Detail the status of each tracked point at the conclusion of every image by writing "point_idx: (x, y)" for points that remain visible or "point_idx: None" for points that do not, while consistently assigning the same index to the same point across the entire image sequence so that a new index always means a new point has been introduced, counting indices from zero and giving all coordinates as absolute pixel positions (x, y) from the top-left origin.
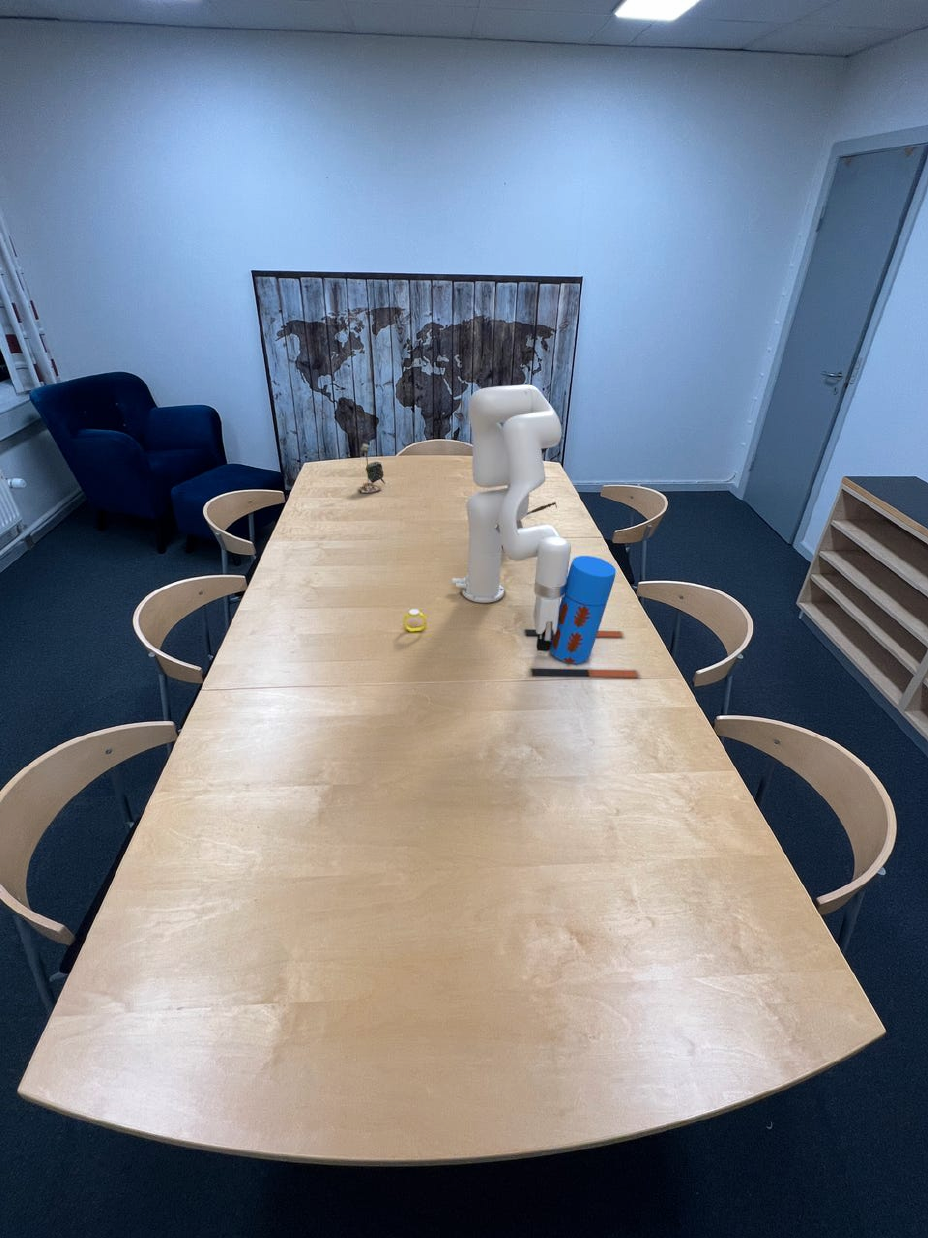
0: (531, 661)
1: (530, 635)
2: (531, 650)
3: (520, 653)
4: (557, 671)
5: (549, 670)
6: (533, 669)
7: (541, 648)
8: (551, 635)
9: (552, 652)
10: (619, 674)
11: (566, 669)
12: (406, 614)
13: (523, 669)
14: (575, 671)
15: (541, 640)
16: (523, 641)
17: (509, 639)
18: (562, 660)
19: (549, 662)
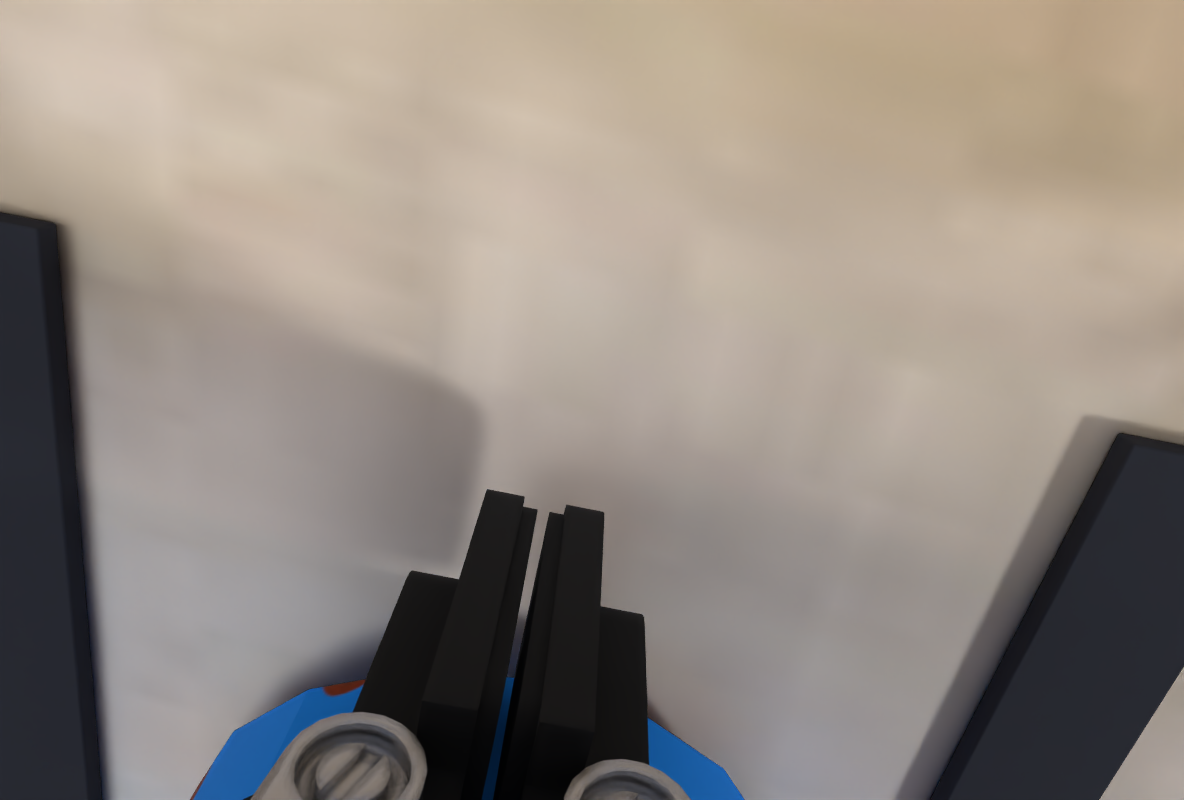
0: (316, 295)
1: (1087, 504)
2: (646, 390)
3: (587, 159)
4: (11, 597)
5: (17, 500)
6: (14, 253)
7: (408, 582)
8: (948, 784)
9: None
10: None
11: (77, 715)
12: None
13: (58, 67)
14: (43, 793)
15: (390, 712)
16: (961, 332)
17: (1141, 58)
18: (228, 744)
19: (285, 558)
